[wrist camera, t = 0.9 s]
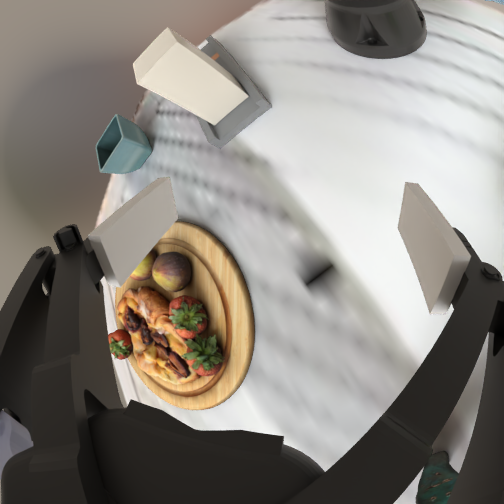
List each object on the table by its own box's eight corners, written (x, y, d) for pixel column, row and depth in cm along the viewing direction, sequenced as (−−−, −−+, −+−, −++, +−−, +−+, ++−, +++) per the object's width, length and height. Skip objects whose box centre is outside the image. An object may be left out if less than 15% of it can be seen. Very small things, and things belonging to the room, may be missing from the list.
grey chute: (218, 42, 43) (210, 35, 40) (271, 106, 36) (262, 97, 33) (182, 74, 47) (173, 68, 45) (220, 148, 40) (208, 142, 38)
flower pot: (136, 182, 52) (99, 173, 44) (128, 156, 55) (94, 146, 47) (161, 151, 48) (123, 137, 40) (150, 126, 51) (116, 112, 43)
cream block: (234, 76, 38) (167, 26, 25) (249, 96, 36) (176, 41, 23) (203, 104, 41) (132, 64, 28) (214, 125, 39) (137, 83, 26)
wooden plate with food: (142, 397, 49) (111, 407, 42) (114, 251, 55) (82, 249, 48) (279, 411, 34) (248, 439, 27) (233, 192, 39) (194, 178, 32)
